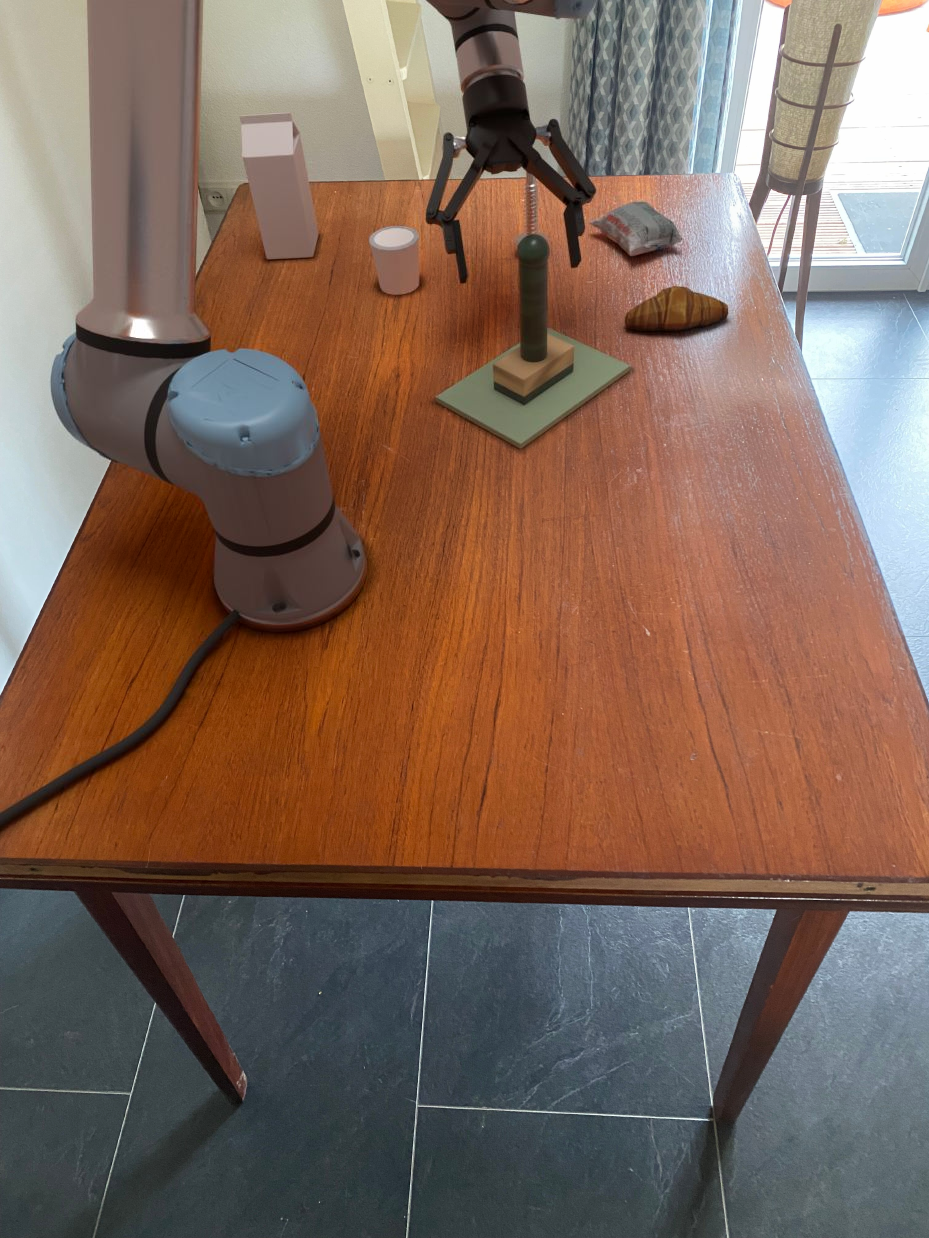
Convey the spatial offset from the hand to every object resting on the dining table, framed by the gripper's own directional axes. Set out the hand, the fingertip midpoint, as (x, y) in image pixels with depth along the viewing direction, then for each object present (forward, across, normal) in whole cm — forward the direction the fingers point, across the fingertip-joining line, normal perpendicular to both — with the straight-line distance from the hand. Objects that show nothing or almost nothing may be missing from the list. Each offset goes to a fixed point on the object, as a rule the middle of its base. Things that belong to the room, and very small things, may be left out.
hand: (520, 272), depth 108 cm
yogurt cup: (-7, +13, -23) cm, 27 cm away
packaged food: (-8, -21, -24) cm, 33 cm away
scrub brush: (+12, 0, -2) cm, 13 cm away
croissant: (+7, -21, -9) cm, 24 cm away
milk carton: (-18, +28, -34) cm, 47 cm away
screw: (-9, -6, -25) cm, 28 cm away
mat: (+13, 0, -3) cm, 13 cm away
